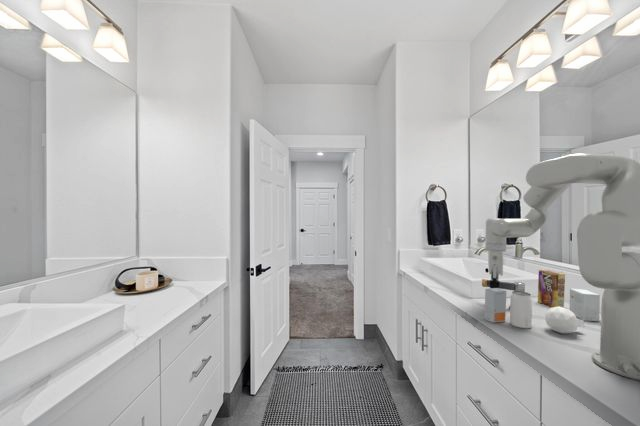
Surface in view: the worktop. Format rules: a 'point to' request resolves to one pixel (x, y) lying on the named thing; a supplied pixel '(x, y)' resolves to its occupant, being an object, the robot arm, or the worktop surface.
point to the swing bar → (506, 285)
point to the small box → (585, 304)
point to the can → (521, 309)
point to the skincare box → (495, 305)
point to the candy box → (551, 288)
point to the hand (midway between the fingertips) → (494, 289)
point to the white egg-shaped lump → (562, 320)
